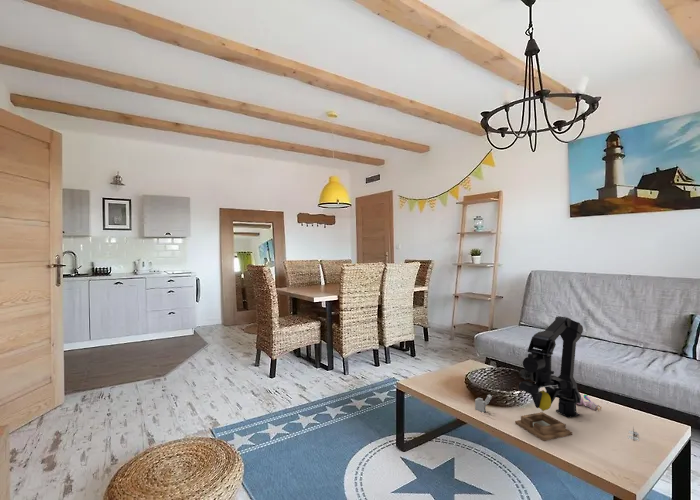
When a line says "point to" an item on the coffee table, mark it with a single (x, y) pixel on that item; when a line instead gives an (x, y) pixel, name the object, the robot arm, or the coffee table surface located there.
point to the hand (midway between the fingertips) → (543, 406)
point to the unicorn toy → (589, 403)
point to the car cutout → (633, 435)
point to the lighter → (482, 403)
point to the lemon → (545, 401)
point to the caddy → (543, 426)
